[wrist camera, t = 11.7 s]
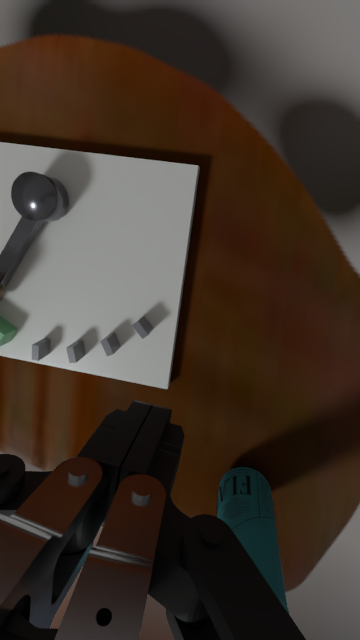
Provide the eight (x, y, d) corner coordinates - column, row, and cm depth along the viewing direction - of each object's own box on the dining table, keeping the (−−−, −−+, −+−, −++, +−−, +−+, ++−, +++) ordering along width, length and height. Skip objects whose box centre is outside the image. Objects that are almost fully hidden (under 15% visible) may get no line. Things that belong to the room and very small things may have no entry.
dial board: (-66, 136, 37) (-101, 125, 33) (199, 168, 33) (195, 159, 30) (-54, 339, 43) (-83, 349, 40) (169, 383, 40) (162, 399, 36)
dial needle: (42, 167, 34) (7, 155, 29) (76, 195, 34) (47, 188, 29) (-26, 288, 39) (-67, 297, 33) (4, 312, 39) (-32, 325, 34)
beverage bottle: (253, 448, 40) (269, 642, 21) (281, 490, 41) (322, 713, 22) (207, 469, 42) (185, 666, 23) (236, 509, 43) (236, 731, 24)
